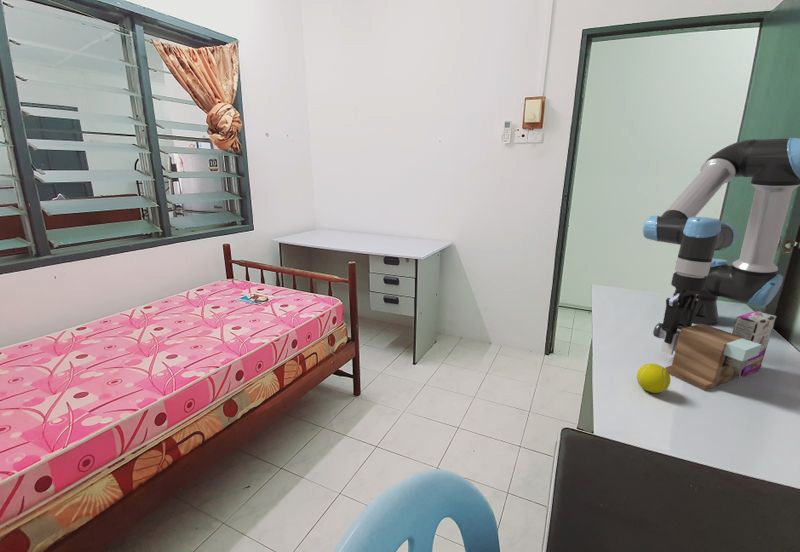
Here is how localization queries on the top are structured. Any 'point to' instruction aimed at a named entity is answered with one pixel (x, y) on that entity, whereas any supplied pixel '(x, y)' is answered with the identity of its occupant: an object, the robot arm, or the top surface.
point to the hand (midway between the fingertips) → (670, 351)
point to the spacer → (742, 349)
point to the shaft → (661, 334)
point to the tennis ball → (653, 378)
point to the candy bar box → (754, 336)
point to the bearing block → (702, 357)
